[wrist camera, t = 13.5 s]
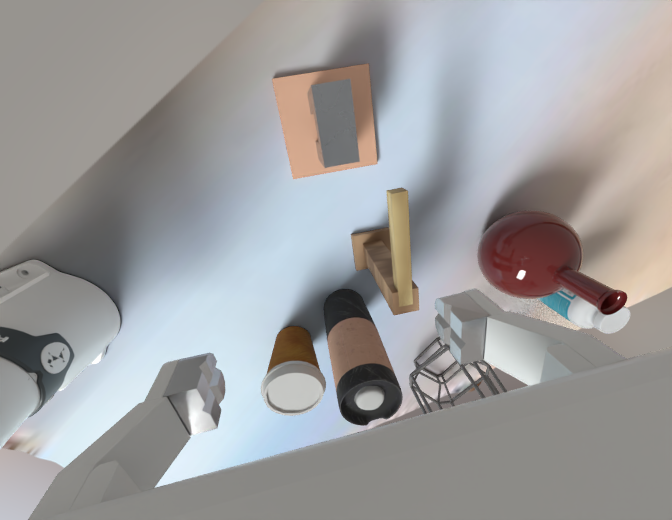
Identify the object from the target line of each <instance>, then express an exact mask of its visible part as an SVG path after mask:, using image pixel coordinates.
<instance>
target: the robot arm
mask: <svg viewBox="0 0 672 520" xmlns="http://www.w3.org/2000/svg"><path fill="white" fill-rule="evenodd" d="M26 271H27V272H26ZM435 309H436V310H437V311H438V315H437V316H436V318H435V324H436V329H437V332H438V334H439V336H440V338H441V340H442V341H443V342H444V343H445V344H448V345H450V352H451V353H452V354H453V356H454V357H455V358H456V360H457V361H458V362H459V363H460V365H462V364H466V363H470V362H475V361H479V360H483V359H484V361H486V362H488V363H489V364H491V365H493V366H495V367H497V368H499V369H500V370H502V371H504V372H506V373H508V374H510V375H511V376H513V377H515V378H517V379H519V380H520V381H522V382H524V383H526V384H528V385H529V386H526V387H523V388H519V389H516V390H512V391H508V392H504V393H501V394H497V395H494V396H490V397H487V398H483V399H479V400H475V401H472V402H468V403H465V404H461V405H457V406H453V407H450V408H446V409H442V410H439V411H435V412H431V413H428V414H424V415H420V416H417V417H413V418H409V419H406V420H402V421H398V422H395V423H391V424H387V425H384V426H380V427H376V428H372V429H369V430H365V431H361V432H358V433H354V434H351V435H347V436H343V437H340V438H336V439H332V440H329V441H325V442H321V443H318V444H314V445H310V446H307V447H303V448H299V449H296V450H292V451H288V452H285V453H281V454H277V455H274V456H270V457H266V458H263V459H259V460H255V461H252V462H248V463H244V464H241V465H237V466H233V467H230V468H226V469H222V470H219V471H215V472H211V473H208V474H204V475H200V476H197V477H193V478H190V479H186V480H182V481H179V482H175V483H171V484H168V485H164V486H160V487H157V488H154V487H155V486H156V485H157V483H158V482H159V480H160V479H161V478H162V476H163V475H164V474H165V472H166V471H167V469H168V468H169V467H170V465H171V464H172V462H173V461H174V460H175V458H176V457H177V456H178V454H179V453H180V451H181V450H182V449H183V447H184V446H185V445H186V443H187V442H188V440H189V439H190V438H191V437H190V436H192V435H196V434H199V433H202V432H206V431H209V430H213V429H216V428H217V427H218V423H219V418H220V414H221V408H220V406H219V404H220V402H221V401H222V400H223V399H224V395H225V381H224V376H223V374H222V372H221V370H219V369H217V368H215V366H216V362H217V361H216V359H215V357H214V355H213V354H212V353H206V354H202V355H197V356H193V357H188V358H183V359H180V360H175V361H171V362H167V363H165V364H164V365H163V366H162V368H161V370H160V372H159V373H158V375H157V377H156V379H155V381H154V383H153V385H152V387H151V389H150V391H149V393H148V395H147V397H146V399H145V401H144V402H142V403H139V404H138V405H137V406H135V407H134V408H133V409H132V410H131V411H130V412H128V413H127V414H126V415H125V416H124V417H123V418H122V419H120V420H119V421H118V422H117V423H116V424H115V425H114V426H112V427H111V428H110V429H109V430H108V431H107V432H105V433H104V434H103V435H102V436H101V437H100V438H99V439H97V440H96V441H95V442H94V443H93V444H92V445H91V446H89V447H88V448H87V449H86V450H85V451H84V452H83V453H81V454H80V455H79V456H78V457H77V458H76V459H74V460H73V461H72V462H71V463H70V464H69V465H68V466H66V467H65V468H64V469H63V470H62V471H61V472H60V473H58V475H57V476H56V478H55V479H54V481H53V482H52V484H51V485H50V487H49V488H48V490H47V491H46V493H45V495H44V496H43V498H42V499H41V501H40V502H39V504H38V505H37V507H36V508H35V510H34V511H33V513H32V514H31V516H30V518H29V519H28V520H672V347H669V348H666V349H662V350H658V351H655V352H651V353H647V354H644V355H640V356H636V357H633V358H629V359H626V358H625V357H623V356H622V355H620V354H619V353H617V352H616V351H614V350H613V349H611V348H610V347H609V346H607V345H606V344H604V343H603V342H601V341H600V340H598V339H597V338H595V337H594V336H592V335H590V334H587V333H583V332H580V331H576V330H573V329H569V328H566V327H562V326H559V325H556V324H552V323H549V322H545V321H542V320H538V319H535V318H531V317H528V316H525V315H521V314H518V313H514V312H511V311H509V312H505V311H504V310H503V309H501V308H500V307H499V306H498V305H496V304H495V303H494V302H493V301H491V300H490V299H489V298H488V297H486V296H485V295H484V294H483V293H482V292H480V291H479V290H477V289H472V290H468V291H464V292H462V293H458V294H454V295H450V296H446V297H442V298H438V299H436V301H435ZM119 329H120V315H119V312H118V309H117V307H116V306H115V304H114V302H113V301H112V300H111V299H110V297H109V296H108V295H107V294H106V293H105V292H103V291H102V290H101V289H100V288H98V287H97V286H95V285H93V284H92V283H90V282H88V281H86V280H84V279H81V278H78V277H75V276H72V275H68V274H65V273H61V272H59V271H57V270H55V269H54V268H52V267H50V266H49V265H47V264H45V263H43V262H41V261H38V260H29V261H26V262H24V263H21V264H19V265H16V266H14V267H11V268H9V269H6V270H4V271H1V272H0V449H1V448H2V447H3V446H4V444H5V443H6V442H7V441H8V440H9V438H10V437H11V436H12V435H13V434H14V433H15V431H16V430H17V429H18V428H19V427H20V426H21V424H22V423H23V422H24V421H25V420H26V419H27V418H28V417H30V416H32V415H34V414H35V413H37V412H38V411H39V410H40V409H41V408H42V407H43V406H44V405H45V404H47V403H48V402H49V401H50V400H51V399H52V397H53V396H54V394H55V393H56V392H57V391H61V390H63V389H65V388H66V387H67V386H68V385H69V384H70V383H71V382H73V381H74V380H75V379H76V378H77V377H78V376H79V375H80V374H81V373H82V372H83V371H84V370H85V369H86V368H87V367H88V366H89V365H90V364H96V363H99V362H100V361H101V360H102V359H103V358H104V356H105V353H106V348H107V346H108V344H109V343H110V342H111V341H112V340H113V339H114V338H115V337H116V335H117V334H118V332H119Z"/></svg>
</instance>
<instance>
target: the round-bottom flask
mask: <svg viewBox="0 0 672 520" xmlns="http://www.w3.org/2000/svg"><path fill="white" fill-rule="evenodd" d="M477 257H478V264H479V267H480V270H481V272H482V274H483V275H484V277H485V278H486V280H487V281H488V282H489V283H490V284H491V285H492V286H493V287H495V288H496V289H498V290H499V291H501V292H503V293H505V294H507V295H510V296H513V297H517V298H523V299H537V298H543V297H547V296H550V295H553V294H555V293H557V292H559V291H561V290H563V289H564V288H565V289H566V290H568V291H570V292H571V293H573V294H575V295H576V296H578V297H580V298H581V299H583V300H585V301H586V302H588V303H590V304H591V305H593V306H595V307H596V308H597V309H598V311H599V312H601V313H602V314H604V315H611V314H614V313H616V312H617V311H619V310H620V309H621V308H622V307H623V306H624V305H625V303H626V301H627V294H626V293H625V292H623V291H620V290H614V289H612V288H610V287H608V286H606V285H604V284H602V283H600V282H598V281H596V280H594V279H592V278H590V277H588V276H586V275H584V274H583V273H581V272H579V271H580V269H581V266H582V262H583V247H582V243H581V240H580V238H579V236H578V234H577V233H576V231H575V230H574V229H573V228H572V227H571V226H570V225H569V224H568V223H567V222H566V221H564V220H563V219H561V218H559V217H557V216H555V215H553V214H550V213H547V212H542V211H533V210H528V211H519V212H515V213H511V214H509V215H506V216H504V217H502V218H500V219H499V220H497V221H496V222H494V223H493V224H492V225H491V226H490V227H489V228H488V229H487V230H486V231H485V233H484V234H483V236H482V238H481V240H480V243H479V246H478V253H477Z"/></svg>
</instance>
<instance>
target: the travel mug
mask: <svg viewBox="0 0 672 520" xmlns="http://www.w3.org/2000/svg"><path fill="white" fill-rule="evenodd" d="M324 316H325V325H326V333H327V342H328V348H329V353H330V359H331V365H332V370H333V376H334V381H335V387H336V392H337V398H338V404H339V409H340V412H341V414H342V416H343V417H344V418H345V419H346V420H347V421H349V422H350V423H353V424H356V425H367V424H368V423H369V422H370V421H372V420H375V419H379V418H384V419H388V418H390V417H392V416H393V415H394V414H395V413H396V412H397V411H398V409H399V408H400V406H401V403H402V392H401V388H400V386H399V383H398V381H397V378H396V376H395V373H394V371H393V368H392V366H391V363H390V361H389V358H388V356H387V353H386V351H385V348H384V346H383V343H382V341H381V338H380V336H379V333H378V331H377V329H376V326H375V324H374V322H373V320H372V318H371V316H370V313H369V311H368V309H367V307H366V305H365V303H364V301H363V299H362V297H361V296H360V295H359V294H358V293H357V292H355V291H353V290H350V289H341V290H338V291H335V292H333V293H332V294H331V295H330V296H329V297H328V298H327V299H326V301H325V304H324Z"/></svg>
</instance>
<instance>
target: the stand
mask: <svg viewBox="0 0 672 520" xmlns="http://www.w3.org/2000/svg"><path fill="white" fill-rule="evenodd" d="M387 203H388V217H389V228H388V227H387V228H382V229H377V230H372V231H367V232H361V233H356V234H351V239H352V246H353V253H354V260H355V268H356V270H357V271H358V270H363V269H368V268H369V270H370V272H371V273H372V275H373V277H374V279H375V281H376V283H377V285H378V287H379V288H380V290H381V292H382V294H383V296H384V298H385V300H386V301H387V303H388V305H389V307H390V309H391V311H392V313H393V315H398V314H403V313H407V312H412V311H417V310H419V293H418V287H417V286H416V284H415V283H414V282H413V280H412V272H411V250H410V228H409V206H408V191H407V190H405V189H404V188H397V189H392V190H387Z"/></svg>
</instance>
